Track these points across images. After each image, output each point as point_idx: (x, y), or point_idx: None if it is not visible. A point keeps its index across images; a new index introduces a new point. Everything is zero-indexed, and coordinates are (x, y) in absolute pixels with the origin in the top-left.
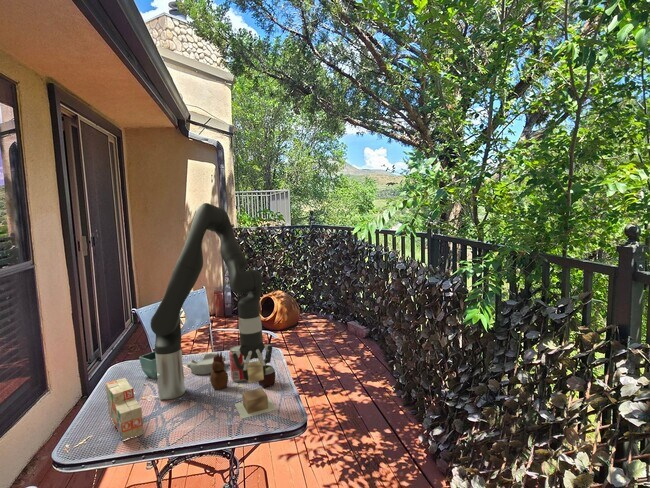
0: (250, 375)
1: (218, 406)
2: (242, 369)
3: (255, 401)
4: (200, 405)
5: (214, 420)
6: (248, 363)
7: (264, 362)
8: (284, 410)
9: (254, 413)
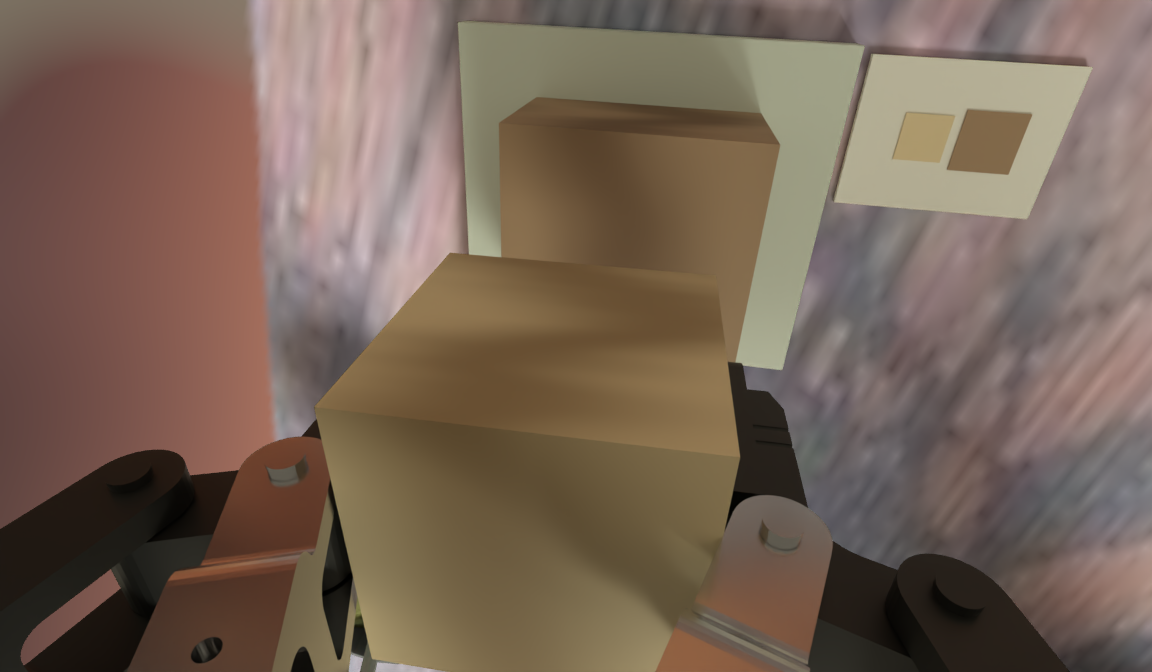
0: (683, 340)
1: (887, 442)
2: (833, 548)
3: (664, 128)
4: (994, 534)
5: (1061, 238)
6: (690, 612)
7: (240, 491)
8: (394, 12)
9: (699, 77)
